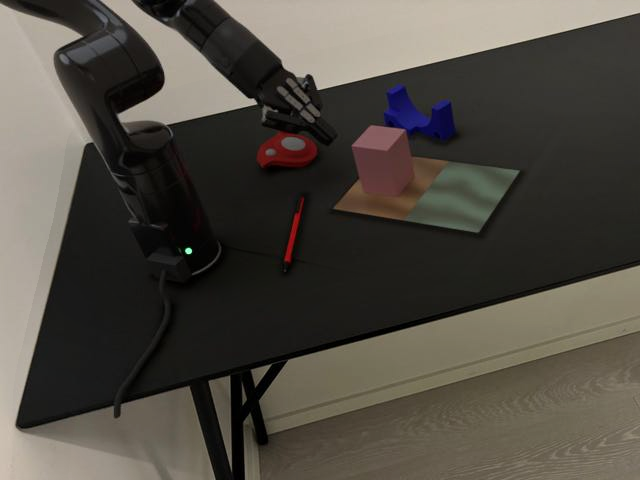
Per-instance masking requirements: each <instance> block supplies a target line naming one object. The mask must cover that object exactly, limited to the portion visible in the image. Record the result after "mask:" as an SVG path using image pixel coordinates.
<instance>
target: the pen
mask: <svg viewBox="0 0 640 480" xmlns="http://www.w3.org/2000/svg"><path fill="white" fill-rule="evenodd" d="M298 197H299V198H298V202H297V206H296V210H295V214H294V218H293V223H292V226H291V231H290V235H289V240H288V243H287V248H286V252H285V256H284V262H283V268H284V269H283V270H284V272H287V270H288V269H289V267H290V266H291V263H292V258H293V257H292V252H293V249H294V248H293V247H294V244H295V240H296V236H297V230H298V226H299V222H300V217H301V213H302V208H303V204H304V200H305V196H303V195H299V196H298Z"/></svg>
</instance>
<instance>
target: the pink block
mask: <svg viewBox="0 0 640 480" xmlns="http://www.w3.org/2000/svg"><path fill="white" fill-rule="evenodd" d="M351 150H352V153H353V157H354V161H355V166H356V169H357V174H358V177H359V178H360V181H361V185H362V189H363V192H366V193H373V194H379V195H386V196H392V197H398V196H399V195H400V194H401V192H402V191H403V190H404V189H405V187H406V186H407V185H408V184H409V182H410V181H411V180H412V179H413V177H414V176H415V173H414V168H413V163H412V158H411V156H412V154H411V148H410V143H409V137H408V134H407V133H406V129H398V128H394V127H391V126H390V127H388V126H380V125H372V124H371V125H369V126H368V127H367V128H366V130H364V132H363V133H362V134H361V135H360V136H359V137H358V138H357V140H356V141H355V142H354V143H353V144H352V145H351ZM359 178H358V179H359Z"/></svg>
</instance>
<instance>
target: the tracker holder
mask: <svg viewBox="0 0 640 480" xmlns="http://www.w3.org/2000/svg"><path fill="white" fill-rule="evenodd" d="M317 155H318V147H317V146H316V143H314V141H312V140H311V139H309V138H308V137H306V136H303V135H300V134H297V135H295V134H291V133H287V132H283V131H279V130H278V132H277V134H276V135H274V136H273V137H272V138H269V139H268V140H267V141H266V142H265V141H264V143H263V144H262V145H261V146H260V147H259V149H258V152H257V154H256V161H257V163H258V164H259V166H260V167H261V168H262V169H263V170H266V169H267V170H268V169H269V168H270V167H271V166H280V167H285V168H303V167H305V166H307V165H309V164H310V163H311V162H312V161H314V160H315V159H316V157H317Z"/></svg>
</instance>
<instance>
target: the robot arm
mask: <svg viewBox="0 0 640 480" xmlns="http://www.w3.org/2000/svg"><path fill="white" fill-rule="evenodd" d="M130 1H131V2H132V3H133V4H134V5H135V6H136V7H137V8H138V9H139V10H141V12H143V13H145V14H146V15H148V16H149V17H151V18H152V19H154V20H155V21H157V22H158V23H161V24H162V25H163V26H165V27H167V28H169V29H171V30H173V31H174V32H177V33H178V34H179V35H180V36H181V37H182V38H183V39H184V40H185V41H186V42H187V43H188V44H189V45H190V46H192V47H193V48H194V50H196V51H197V52H198V53H200V55H202V57H204V58H205V60H206V61H207V62H208V63H209V64H210V66H212V68H213V69H214V70H216V71H217V72H218V73H219V74H220V75H221V76H223V77H224V78H225V79H226V80H227V81H228V82H229V83H230V84H231V85H233V87H235V88H236V89H237V90H238V91H239V92H240V93H242V94H243V96H245V97H246V98H247V99H249V100H254V102H256V104H257V106H258V107H259V108H260V109H261V110H262V118H261V120H260V125H261V126H262V127H264V128H268V129H271V130H276V131H278V132H279V131H283V132H287V133H291V134H295V135H299V134H300V133H301V132H307V133H308V134H309V135H311V136H312V137H313V139H315V140H316V141H318V143H320V144H321V145H323V146H325V147H329V146H330V145H332V143H334V141H335V140H336V139H337V138H338V133H337V131H336V129H335V128H334V127H333V126H332V125H331V124H330V123H328V122H327V121H326V120H325V119H324V118H323V117H322V116H321V111H322V109H323V107H324V105H323V101H322V99H321V96H320V94H319V93H320V92H319V90H318V87H317V85H316V81H315V79H314V76H313V75H312V74H311V73H307V74H306V75H305V76H304V77H303V76H297V75H295V73H294V72H292V71H289V70H288V69H286V68H285V67H284V65H283V60H282V59H281V58H280V57H279V56H278V55H277V54H276V53H275V52H274V51H272V50H271V48H269V47H268V46H267V45H266V44H265V43H264V42H263V41H262V40H261V39H259V37H258V36H256V35H255V34H254V33H253V32H252V31H251V30H250V29H248V28H247V27H246V26H245V25H243V24H242V22H239V21H238V20H237V19H235V18H234V17H233V16H232V15H231V14H230V13H229V12H228V11H227V10H225V9H224V8H223V7H222V6H221V5H220V4H219V3H218V2H217V1H215V0H130ZM0 4H1V5H3V6H5V7H7V8H8V9H11V10H13V11H16V12H18V13H22V14H24V15H26V16H31V17H33V18H37V19H40V20H44V21H46V22H50V23H53V24H57V25H59V26H63V27H64V28H67V29H69V30H71V31H73V32H74V33H76V34H78V35H80V36H81V37H79V38H77V39H75V40H72V41H71V42H68V43H66V44H64V45H62V46H60V47H59V48H57V49H56V50H55V52H54V53H53V58H52V60H53V68H54V70H55V73H56V76H57V78H58V81H59V82H60V84H61V86H62V88H63V90H64V92H65V93H66V96H67V97H68V99H69V101H70V103H71V104H72V105H73V108H74V109H75V111H76V113H77V115H78V117H79V118H80V120H81V122H82V124H83V126H84V127H85V129H86V131H87V133H88V135H89V137H90V139H91V141H92V142H93V144H94V146H95V148H96V150H97V151H98V153H99V155H100V156H101V158H102V159H103V161H104V163H105V165H106V167H107V169H108V171H109V173H110V174H111V177H112V180H113V181H114V183H115V185H116V187H117V190H118V192H119V193H120V195H121V197H122V200H123V202H124V203H125V206H126V208H127V210H128V212H129V214H130V216H131V218H130V219H129V220H128V221H127V223H128V226H129V228H130V230H131V232H132V234H133V236H134V238H135V240H136V242H137V244H138V247H139V248H140V250H141V252H142V254H143V256H144V258H145V259H146V262H147V264H148V266H149V268H150V270H151V272H152V274H153V276H154V277H155V278H158V279H159V282H158V291H159V295H160V297H161V298H162V300H163V303H164V315H163V320H162V321H161V324H160V326H159V327H158V329H157V332H155V336H154V337H153V339H152V340H151V343H150V344H149V346H148V347H147V348H146V350H145V351H144V353H142V355H141V357H140V358H139V360H138V361H137V362H136V364H135V366H134V367H133V368H132V370H131V372H130V373H129V375H128V376H127V377H126V379H125V380H124V381H123V383H122V384H121V385H120V387H119V388H118V390H117V392H116V395H115V398H114V402H113V418H114V419H118V418H120V417H121V414H122V403H123V398H124V395H125V393H126V392H127V390H128V388H129V387H130V385H131V384H133V382H134V381H135V379H136V377H137V376H138V374H139V372H140V371H141V369H142V368H143V366H144V365H145V363H146V362H147V361H148V360H149V358H150V357H151V355H152V354H153V352H154V351H155V350H156V348H157V346H158V345H159V343H160V341H161V339H162V337H163V335H164V333H165V331H166V329H167V327H168V325H169V323H170V320H171V315H172V304H171V303H172V302H171V300H170V299H171V298H170V297H169V295H168V294H167V292H166V281H167V280H168V281H172V282H176V283H181V284H185V283H189V282H190V281H191V280H193V278H197V277H198V276H201V275H203V274H205V273H207V272H208V271H210V270H212V268H214V267H215V266H216V265H217V264H218V263H219V262H220V260H221V257H222V256H223V249H222V246H221V244H220V242H219V241H218V239H217V236H216V234H215V231H214V229H213V227H212V224H211V222H210V219H209V217H208V214H207V212H206V210H205V208H204V205H203V202H202V200H201V197H200V195H199V193H198V190H197V188H196V186H195V183H194V181H193V179H192V175H191V174H190V171H189V169H188V167H187V164H186V162H185V159H184V157H183V153H182V151H181V150H180V147H179V145H178V143H177V140H176V138H175V136H174V133H173V131H172V130H171V129H170V127H169V126H168V125H166V124H165V123H163V122H160V121H156V120H150V119H149V120H148V119H147V120H146V119H145V120H135V121H121V119H120V117H119V115H120V114H122V113H124V112H126V111H128V110H129V109H130V110H131V109H132V108H134V107H136V106H138V105H139V104H142V103H144V102H146V101H148V100H149V99H151V98H153V97H154V96H155V95H157V94H158V93H160V92H161V91H162V90H163V87H164V86H165V83H166V75H165V70H164V67H163V65H162V63H161V61H160V59H159V56H158V55H157V54H156V52H155V51H154V50H153V48H152V47H151V46H150V44H149V42H148V41H146V40H145V38H144V37H143V36H142V35H141V34H140V33H139V31H137V30H136V29H135V28H134V27H133V26H132V25H130V24H129V23H128V22H127V21H126V20H125V19H124V18H122V17H121V16H120V15H119V14H117V13H116V12H115V11H114V10H113V9H112V8H110V7H109V6H108V5H107V4H105V2H103V0H0Z"/></svg>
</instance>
